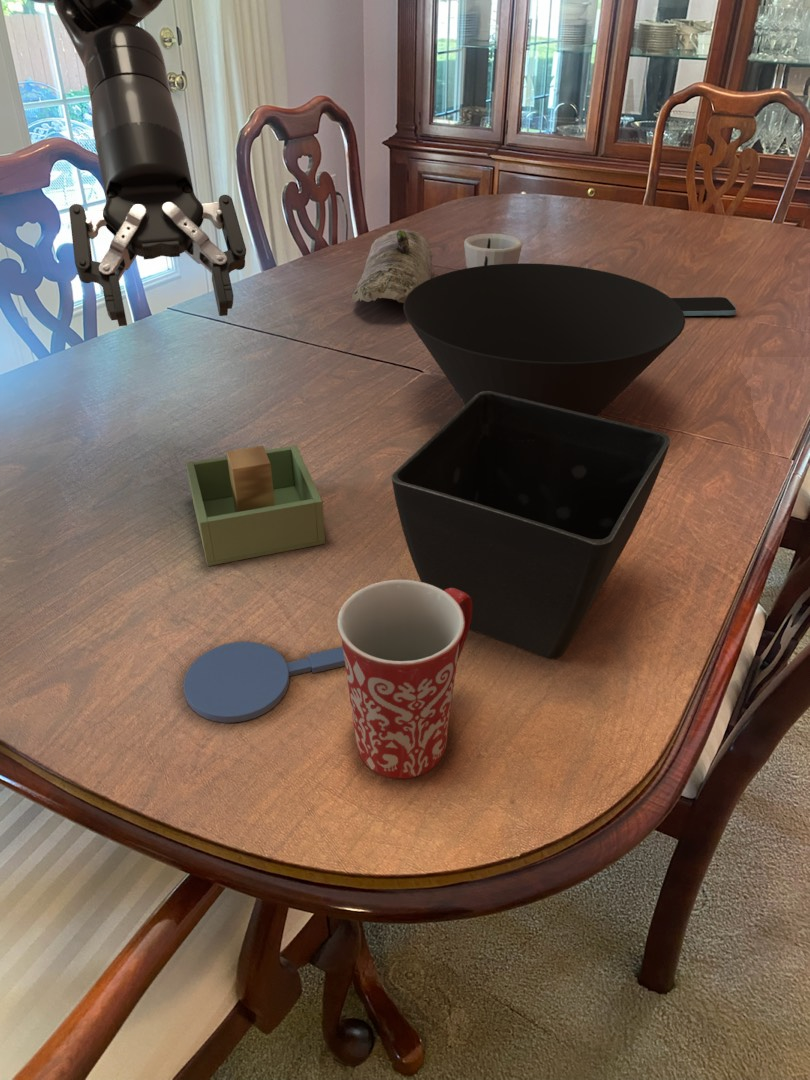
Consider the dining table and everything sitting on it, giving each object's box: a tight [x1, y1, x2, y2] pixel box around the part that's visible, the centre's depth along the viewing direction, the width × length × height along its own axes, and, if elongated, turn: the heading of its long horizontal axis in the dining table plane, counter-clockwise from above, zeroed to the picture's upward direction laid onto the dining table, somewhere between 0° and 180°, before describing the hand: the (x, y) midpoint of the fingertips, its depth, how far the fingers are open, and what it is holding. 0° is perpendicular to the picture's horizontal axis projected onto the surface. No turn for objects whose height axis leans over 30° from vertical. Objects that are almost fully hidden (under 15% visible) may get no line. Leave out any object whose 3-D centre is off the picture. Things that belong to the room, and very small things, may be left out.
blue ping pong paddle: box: [183, 641, 345, 724], centre depth 72 cm, size 18×9×1 cm, turn 109°
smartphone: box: [670, 296, 738, 317], centre depth 145 cm, size 7×1×15 cm
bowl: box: [403, 262, 686, 417], centre depth 109 cm, size 36×36×15 cm
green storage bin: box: [185, 444, 326, 567], centre depth 89 cm, size 13×13×6 cm
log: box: [351, 228, 433, 304], centre depth 148 cm, size 14×12×30 cm
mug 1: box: [336, 579, 472, 779], centre depth 63 cm, size 13×9×14 cm
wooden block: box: [226, 445, 275, 512], centre depth 88 cm, size 4×4×8 cm
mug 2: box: [463, 233, 523, 268], centre depth 150 cm, size 10×15×10 cm
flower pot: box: [391, 391, 672, 660], centre depth 75 cm, size 19×19×17 cm
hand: (174, 317), depth 70 cm, fingers open, 8 cm apart
